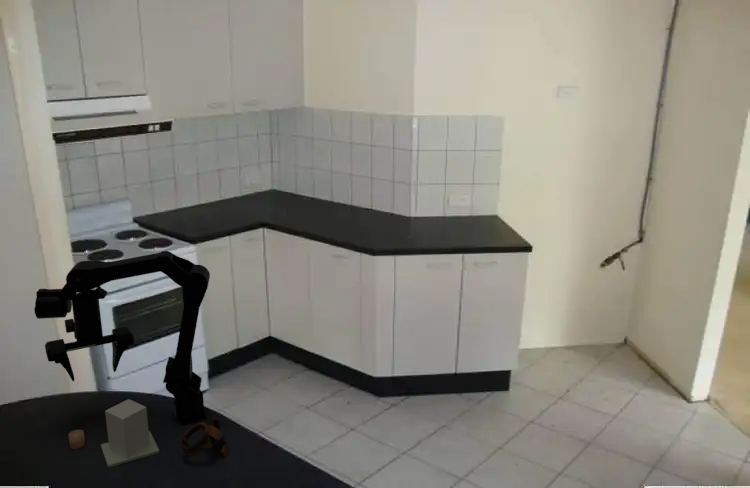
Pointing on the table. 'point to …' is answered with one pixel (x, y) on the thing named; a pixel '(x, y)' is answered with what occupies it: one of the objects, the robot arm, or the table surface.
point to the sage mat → (117, 459)
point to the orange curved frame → (204, 438)
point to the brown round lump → (76, 439)
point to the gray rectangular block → (127, 428)
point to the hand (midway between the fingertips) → (94, 375)
